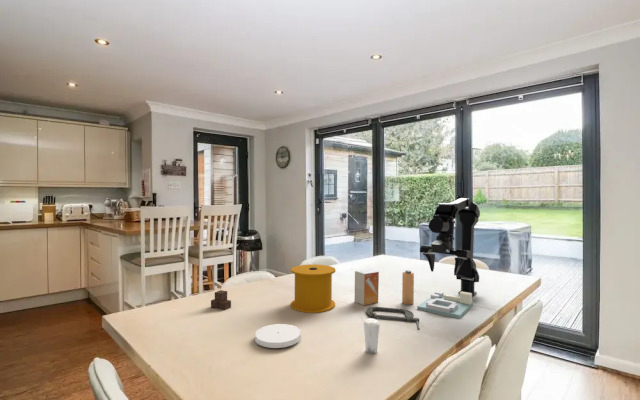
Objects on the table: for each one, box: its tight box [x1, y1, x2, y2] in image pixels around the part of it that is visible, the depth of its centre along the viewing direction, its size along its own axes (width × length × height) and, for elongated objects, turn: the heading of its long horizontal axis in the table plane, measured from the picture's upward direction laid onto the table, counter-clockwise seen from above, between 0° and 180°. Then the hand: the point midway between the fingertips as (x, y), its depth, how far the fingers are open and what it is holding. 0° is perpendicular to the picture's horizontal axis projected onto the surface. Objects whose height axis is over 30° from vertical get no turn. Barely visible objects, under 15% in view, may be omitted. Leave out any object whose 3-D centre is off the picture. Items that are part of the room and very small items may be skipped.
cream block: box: [444, 292, 473, 305], centre depth 137 cm, size 3×10×4 cm, turn 52°
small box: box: [354, 268, 380, 306], centre depth 139 cm, size 8×6×13 cm
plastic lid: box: [254, 323, 302, 349], centre depth 103 cm, size 14×14×2 cm
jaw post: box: [401, 270, 415, 306], centre depth 139 cm, size 5×5×13 cm
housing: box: [416, 290, 474, 319], centre depth 134 cm, size 20×16×3 cm
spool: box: [290, 263, 336, 314], centre depth 135 cm, size 18×18×15 cm
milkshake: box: [361, 316, 381, 355], centre depth 95 cm, size 4×5×10 cm
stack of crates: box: [210, 290, 232, 311], centre depth 133 cm, size 15×15×7 cm
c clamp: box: [365, 306, 421, 331], centre depth 123 cm, size 20×17×3 cm
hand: (443, 273), depth 132 cm, fingers open, 9 cm apart
